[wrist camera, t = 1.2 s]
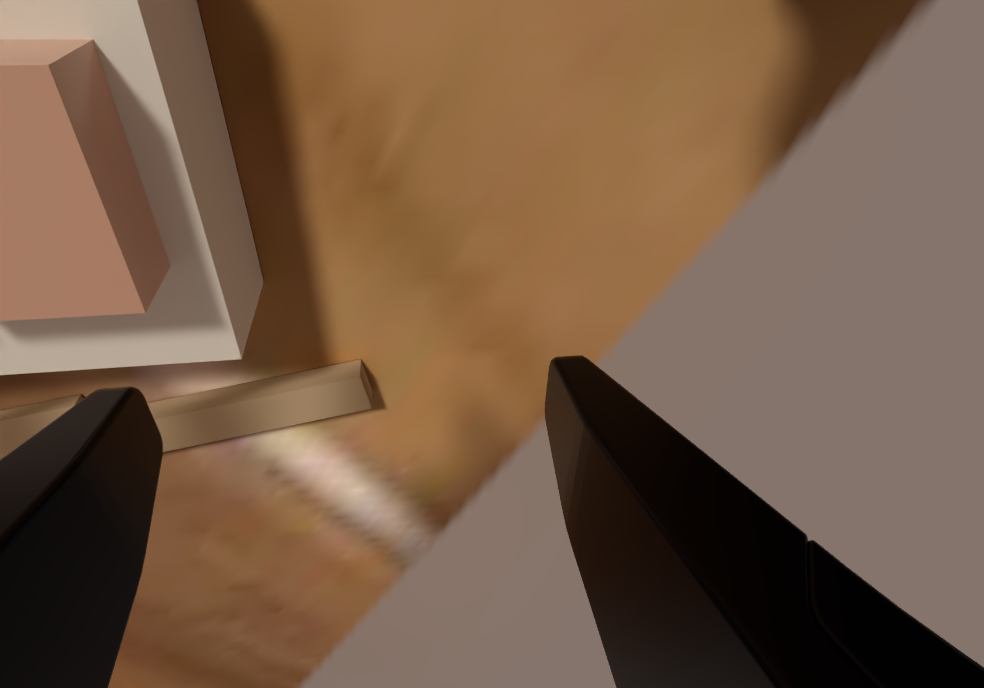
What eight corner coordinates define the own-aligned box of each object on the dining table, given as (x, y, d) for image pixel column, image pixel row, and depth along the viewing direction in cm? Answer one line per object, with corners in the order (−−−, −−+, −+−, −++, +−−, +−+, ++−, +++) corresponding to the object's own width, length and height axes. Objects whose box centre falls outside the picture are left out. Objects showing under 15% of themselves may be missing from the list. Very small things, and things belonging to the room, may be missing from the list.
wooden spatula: (352, 338, 22) (351, 355, 21) (379, 408, 24) (379, 426, 23) (-61, 423, 21) (-78, 444, 20) (5, 486, 24) (-7, 507, 23)
